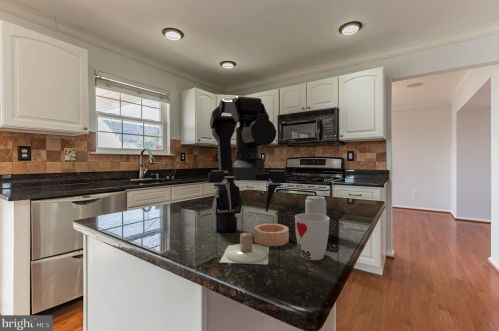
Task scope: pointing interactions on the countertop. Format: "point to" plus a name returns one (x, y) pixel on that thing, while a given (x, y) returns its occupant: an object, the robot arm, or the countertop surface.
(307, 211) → the beverage can
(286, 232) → the bowl
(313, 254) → the cup
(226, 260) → the mat
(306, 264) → the countertop surface
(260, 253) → the lid
